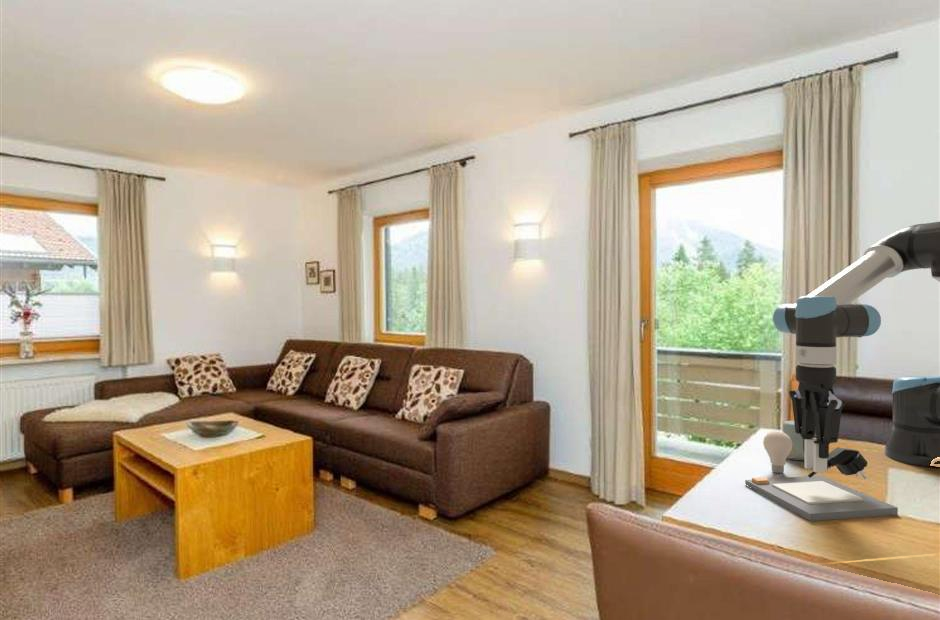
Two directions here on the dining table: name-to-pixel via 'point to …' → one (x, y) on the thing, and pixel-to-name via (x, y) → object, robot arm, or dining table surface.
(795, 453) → the air freshener
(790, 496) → the socket board
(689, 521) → the dining table surface
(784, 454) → the light bulb
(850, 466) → the power plug
